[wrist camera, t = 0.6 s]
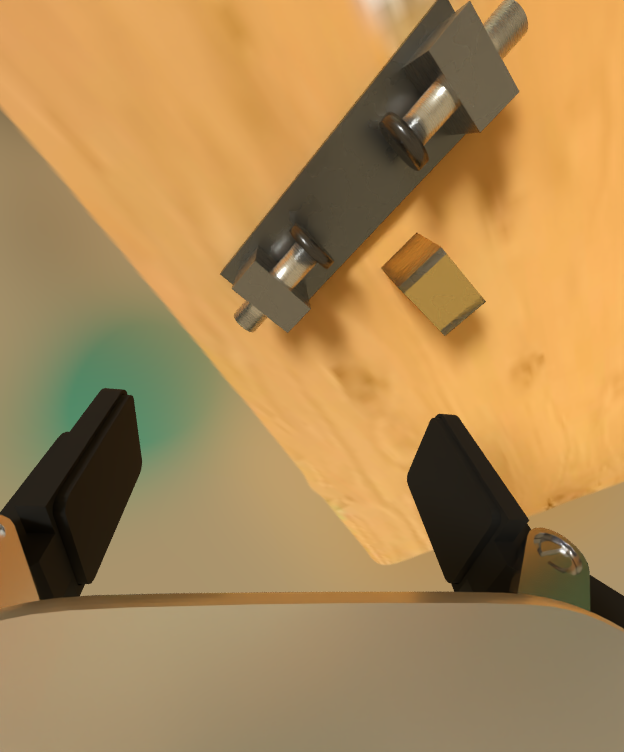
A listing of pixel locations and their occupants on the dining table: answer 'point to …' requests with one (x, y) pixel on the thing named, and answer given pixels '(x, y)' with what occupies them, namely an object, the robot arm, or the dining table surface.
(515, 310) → the dining table surface
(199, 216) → the dining table surface
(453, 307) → the two-tone brushed block
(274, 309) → the shaft stand
